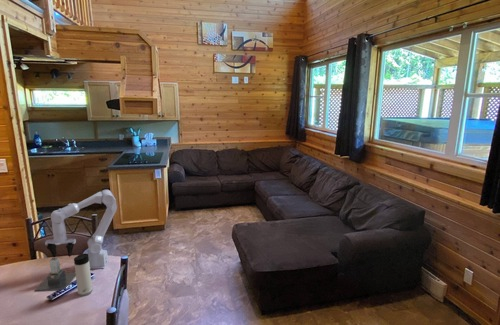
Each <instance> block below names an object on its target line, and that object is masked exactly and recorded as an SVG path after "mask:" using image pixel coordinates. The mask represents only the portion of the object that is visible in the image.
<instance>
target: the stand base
mask: <svg viewBox="0 0 500 325" xmlns="http://www.w3.org/2000/svg"><path fill="white" fill-rule="evenodd" d="M60 270H61V272H60V273H59V274H58V275H51V271H50V272H49V273H48V274H47V276H46V278H44V280H42V282H40V283H39V285H38V286H37V287H36V288H35V289H34V292H46V291H47V292H48V291H63V290H62V289H65V288H66V287H67V286H70V284H71V283H72V281H73V280H74V279H76V273H75V272H66V269H65V268H62V269H61V268H60ZM67 288H68V287H67ZM67 288H66V289H67ZM66 289H65V290H66Z"/></svg>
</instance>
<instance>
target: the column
mask: <svg viewBox="0 0 500 325" xmlns="http://www.w3.org/2000/svg"><path fill="white" fill-rule="evenodd" d="M49 267H50V272H51V275H58V274H59V273H60V272H61V270H60V269H61V266H60V258H59V256H58V257H57V256H56V257H51V258H50V259H49Z"/></svg>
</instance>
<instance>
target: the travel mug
mask: <svg viewBox="0 0 500 325" xmlns="http://www.w3.org/2000/svg"><path fill="white" fill-rule="evenodd" d="M73 261H74V262H73V263H74V273H76V276H75V280H76V287H77V288H76V289H77V295H78V296H80V297H86V296H89V295H90V294H91V293H92V292H93V285H92V284H93V283H92V282H93V281H92V275H91V269H90V264H89V256H88V253H81V254H78V255H76V256H75V257H73Z"/></svg>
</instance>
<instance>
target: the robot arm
mask: <svg viewBox="0 0 500 325" xmlns="http://www.w3.org/2000/svg"><path fill="white" fill-rule="evenodd" d="M93 204H100V205H102V204H104V205H105V206H106V209H105V211H104V213H103V216H102V218H101V220H100V221H99V224H98V226H97V228H96V230H95V232H94V233H93V234H92V235H91V237H90V238H89V239H88V240H87V246H88V250H87V254H88V256H89V264H90V270H91V269H105V267H106V266H107V264H108V263H109V255H108V250H106V249H103V247H102V244H103V243H104V237H105V235H106V233H107V231H108V228H109V226H110V225H111V222H112V220H113V218H114V217H115V216H114V215H115V214H116V212H117V209H118V206H117V199H116V198H115V196H114V194H113V192H112V191H111V189H110V190H109V189H103V190H101V191H98V192H96V193H94V194H93V195H91V196H89V197H88V198H85V199H83V200H82V201H79V202H78V203H74V202H72V203H68V204H67V205H66V206H63V207H62V208H58V209H56V210H53V211H52V212H51V214H50V221H51V230H52V236H53V238H52V239H46V240H45V241H44V244H45V246H46V249H47V250H49V252H50V253H51V255H52V258H56V257H57V256H58V255H57V254H58V253H57V252H58V251H57V246H60V245H63V244H65V245H66V246H65V248H66V249H67V255H68V257H69V258H70V257H71V256H72V255H73V254H72V253H73V250H74V249H73V248H74V246H75V244H76V243H77V239H76V238H69V237H67V231H66V230H67V229H66V224H65V219H68V218H70V217H71V216H72V217H73V216H74V215H76V214H78V213H79V212H80V210H81V209H83V208H86V207H88V206H90V205H93Z"/></svg>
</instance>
